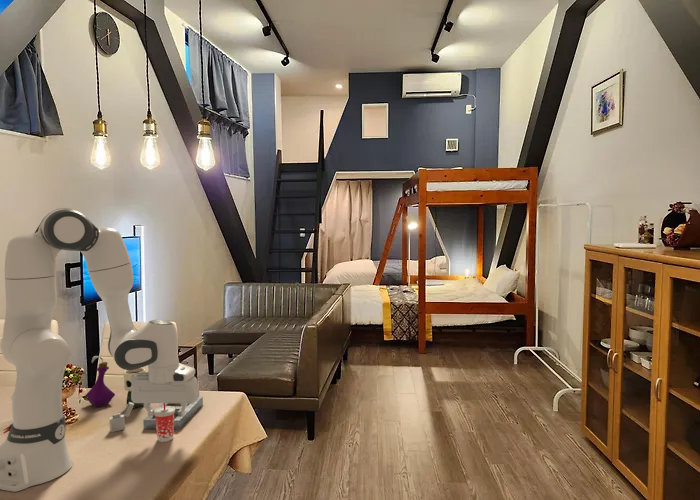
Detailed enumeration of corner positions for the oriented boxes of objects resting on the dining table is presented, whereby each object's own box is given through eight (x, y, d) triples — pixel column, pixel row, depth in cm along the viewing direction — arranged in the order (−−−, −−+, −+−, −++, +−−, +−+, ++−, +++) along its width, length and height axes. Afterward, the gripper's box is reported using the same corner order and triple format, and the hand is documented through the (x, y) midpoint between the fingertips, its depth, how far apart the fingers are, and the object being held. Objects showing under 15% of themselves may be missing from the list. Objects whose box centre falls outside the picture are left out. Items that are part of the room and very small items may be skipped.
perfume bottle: (105, 398, 176) (103, 351, 175) (115, 403, 172) (113, 355, 171) (84, 405, 170) (82, 356, 169) (94, 410, 166) (92, 360, 165)
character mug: (120, 404, 171) (118, 369, 170) (140, 398, 176) (138, 365, 175) (131, 413, 163) (130, 376, 162) (152, 407, 168) (150, 371, 167)
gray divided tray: (143, 428, 151) (143, 419, 151) (170, 404, 171) (170, 396, 170) (179, 429, 150) (179, 420, 150) (202, 404, 170) (202, 396, 170)
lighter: (111, 432, 148) (109, 408, 148) (109, 430, 150) (108, 406, 149) (135, 426, 153) (134, 402, 152) (133, 424, 154) (132, 400, 153)
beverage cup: (172, 442, 141) (171, 397, 140) (151, 443, 141) (150, 398, 140) (178, 433, 147) (177, 390, 146) (158, 434, 147) (157, 390, 146)
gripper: (125, 375, 140) (128, 420, 141) (192, 376, 139) (194, 420, 140) (136, 368, 146) (138, 411, 148) (200, 368, 145) (202, 411, 147)
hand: (166, 415), depth 144 cm, fingers open, 8 cm apart
